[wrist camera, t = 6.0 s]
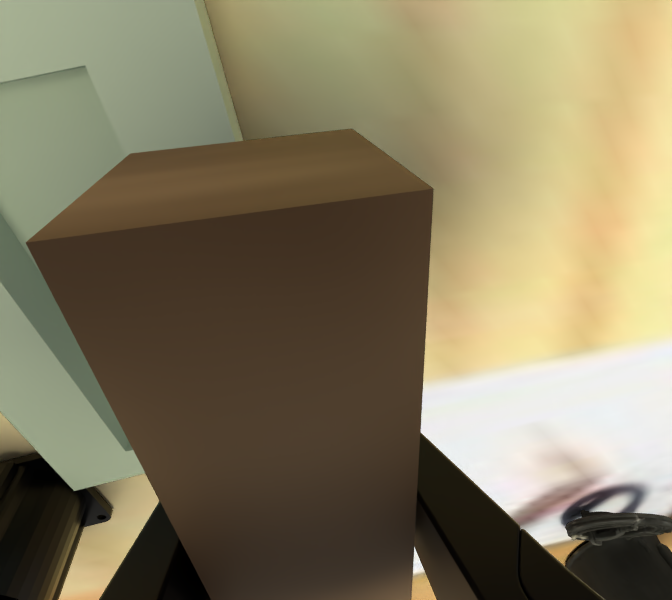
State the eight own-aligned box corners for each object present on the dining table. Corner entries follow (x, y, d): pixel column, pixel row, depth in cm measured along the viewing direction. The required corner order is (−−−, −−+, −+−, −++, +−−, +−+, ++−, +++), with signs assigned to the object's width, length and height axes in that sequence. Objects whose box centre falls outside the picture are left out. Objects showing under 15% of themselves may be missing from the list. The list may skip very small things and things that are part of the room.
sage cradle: (313, 386, 22) (320, 429, 20) (95, 439, 22) (74, 490, 19) (196, -26, 12) (181, -43, 10) (-208, 53, 12) (-332, 55, 9)
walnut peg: (371, 528, 13) (407, 667, 10) (262, 553, 13) (266, 706, 10) (351, 128, 7) (432, 188, 4) (130, 153, 6) (25, 242, 3)
